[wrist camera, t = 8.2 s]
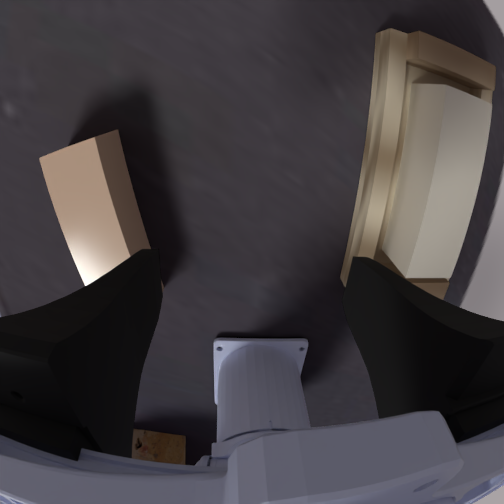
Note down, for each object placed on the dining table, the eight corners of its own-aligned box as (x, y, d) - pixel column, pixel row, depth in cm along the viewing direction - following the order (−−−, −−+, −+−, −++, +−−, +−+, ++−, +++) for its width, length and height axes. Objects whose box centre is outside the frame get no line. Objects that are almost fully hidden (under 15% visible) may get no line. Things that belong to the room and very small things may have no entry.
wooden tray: (431, 278, 24) (452, 301, 21) (339, 277, 24) (354, 305, 20) (475, 70, 16) (506, 72, 13) (375, 33, 15) (401, 24, 12)
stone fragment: (165, 441, 44) (216, 513, 34) (110, 461, 37) (156, 539, 28) (165, 399, 37) (231, 492, 27) (93, 422, 30) (150, 529, 21)
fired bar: (164, 285, 24) (154, 318, 20) (119, 292, 24) (103, 324, 20) (119, 128, 18) (94, 137, 14) (69, 145, 18) (39, 158, 15)
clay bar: (424, 251, 22) (450, 277, 19) (381, 249, 22) (405, 278, 18) (455, 98, 17) (492, 104, 13) (410, 83, 16) (446, 84, 13)
